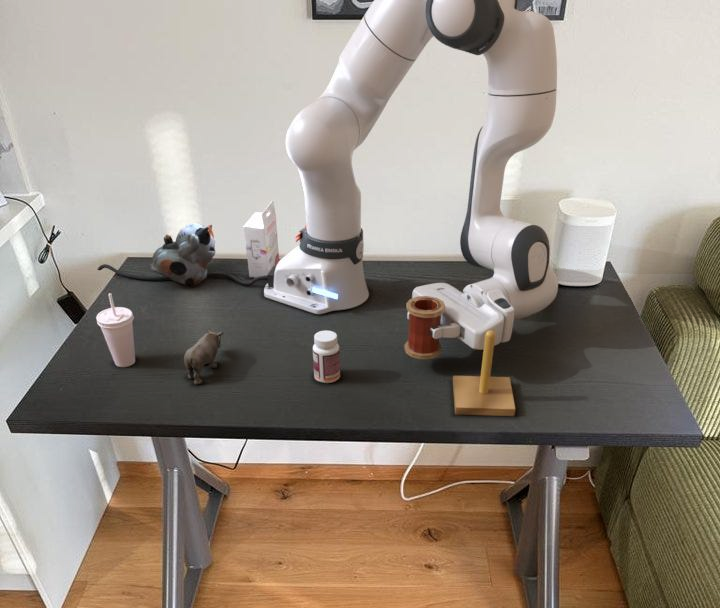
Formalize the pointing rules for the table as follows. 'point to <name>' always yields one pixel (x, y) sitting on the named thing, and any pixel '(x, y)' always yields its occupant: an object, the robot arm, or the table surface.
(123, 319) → the smoothie
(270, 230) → the ink cartridge box
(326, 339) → the pill bottle
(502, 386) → the peg stand
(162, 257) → the lucky cat figurine
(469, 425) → the table surface
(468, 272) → the table surface
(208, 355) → the rhino figurine
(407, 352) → the spool
